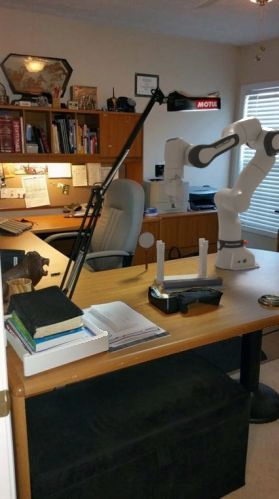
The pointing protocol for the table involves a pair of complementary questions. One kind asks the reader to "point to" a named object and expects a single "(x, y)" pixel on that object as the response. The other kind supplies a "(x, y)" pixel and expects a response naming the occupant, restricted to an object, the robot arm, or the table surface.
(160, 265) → the frame
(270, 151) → the robot arm
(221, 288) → the mat
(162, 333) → the table surface
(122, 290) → the table surface
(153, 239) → the magnifying glass
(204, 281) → the rail
